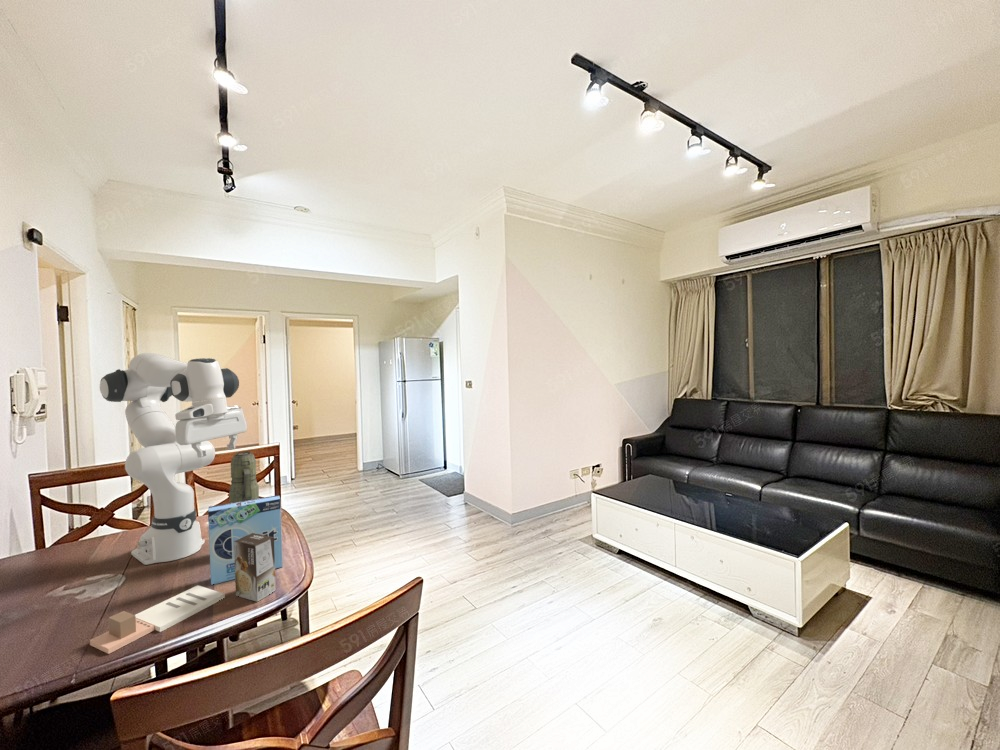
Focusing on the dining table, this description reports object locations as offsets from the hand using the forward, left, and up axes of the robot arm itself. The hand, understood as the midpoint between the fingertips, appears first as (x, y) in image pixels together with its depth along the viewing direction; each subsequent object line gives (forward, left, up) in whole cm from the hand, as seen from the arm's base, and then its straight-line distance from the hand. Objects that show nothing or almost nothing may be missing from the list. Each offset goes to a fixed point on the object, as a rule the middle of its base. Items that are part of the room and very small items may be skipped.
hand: (217, 453), depth 129 cm
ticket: (+8, -16, -39) cm, 43 cm away
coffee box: (+20, -3, -39) cm, 44 cm away
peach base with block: (+8, -29, -39) cm, 49 cm away
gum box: (+7, +4, -39) cm, 40 cm away
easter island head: (-8, +14, -39) cm, 42 cm away
